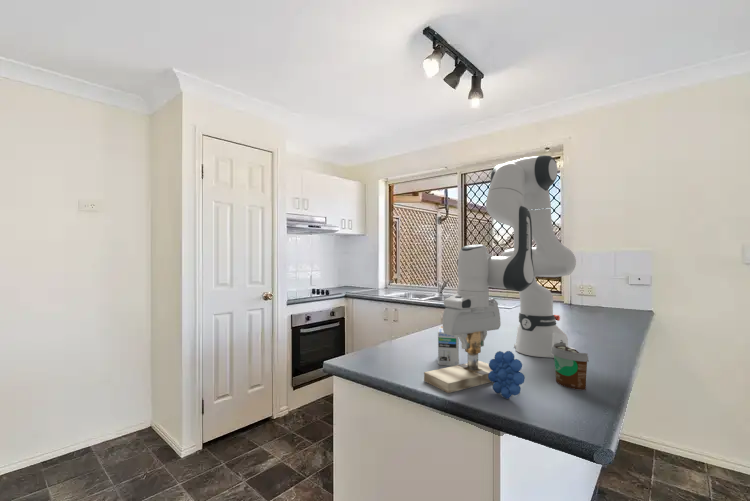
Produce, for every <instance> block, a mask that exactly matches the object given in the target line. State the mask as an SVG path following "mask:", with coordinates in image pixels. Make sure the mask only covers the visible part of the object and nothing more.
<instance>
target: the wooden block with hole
mask: <svg viewBox="0 0 750 501" xmlns="http://www.w3.org/2000/svg"><path fill="white" fill-rule="evenodd" d="M490 371H493V370H491V369H490V367H489V363H487V362H485V361H481V360H478V370H469V369H468V362H467V363H459V365H457V366H447V367H444V368H437V369H433V370H429V371H424V372H423V381H424V382H425V383H427V384H430V385H432V386H433V387H435V388H438V389H439V390H441V391H443V392H445V393H448V394H450V393H455V392H458V391H462V390H465V389H469V388H474V387H478V386H481V385H485V384H489V383H492V382H491V381H490V380H489V378H488V374H489V372H490Z"/></svg>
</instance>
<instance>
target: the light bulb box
mask: <svg viewBox="0 0 750 501" xmlns="http://www.w3.org/2000/svg"><path fill="white" fill-rule="evenodd" d="M437 328H438V329H437V330H438V331H437V351H438V352H437V358H438V359H437V360H438V361H437V364H438V365H439V366H447V367H452V366H457V365H460V362H459V360H460V358H459V357H460V356H459V354H460V353H459V351H460V349H459V348H460V347H459V346H460V345H459V344H460V343H459V342H460V339H459V337H458V335H455V336H451V335H448V334H445V333H444V331H443V325H441V326H438V327H437Z"/></svg>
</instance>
